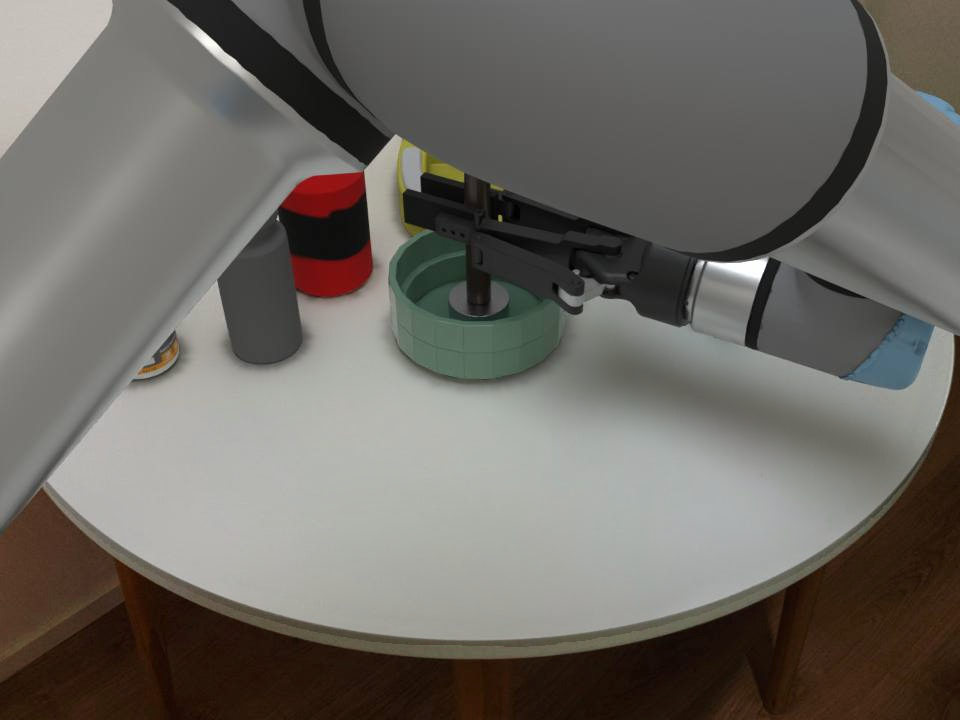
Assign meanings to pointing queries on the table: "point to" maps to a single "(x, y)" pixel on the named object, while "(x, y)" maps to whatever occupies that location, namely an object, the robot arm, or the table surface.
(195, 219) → the robot arm
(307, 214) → the soda can
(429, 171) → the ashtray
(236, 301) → the bottle
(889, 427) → the table surface
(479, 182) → the dark rod on disc
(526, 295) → the mixing bowl
